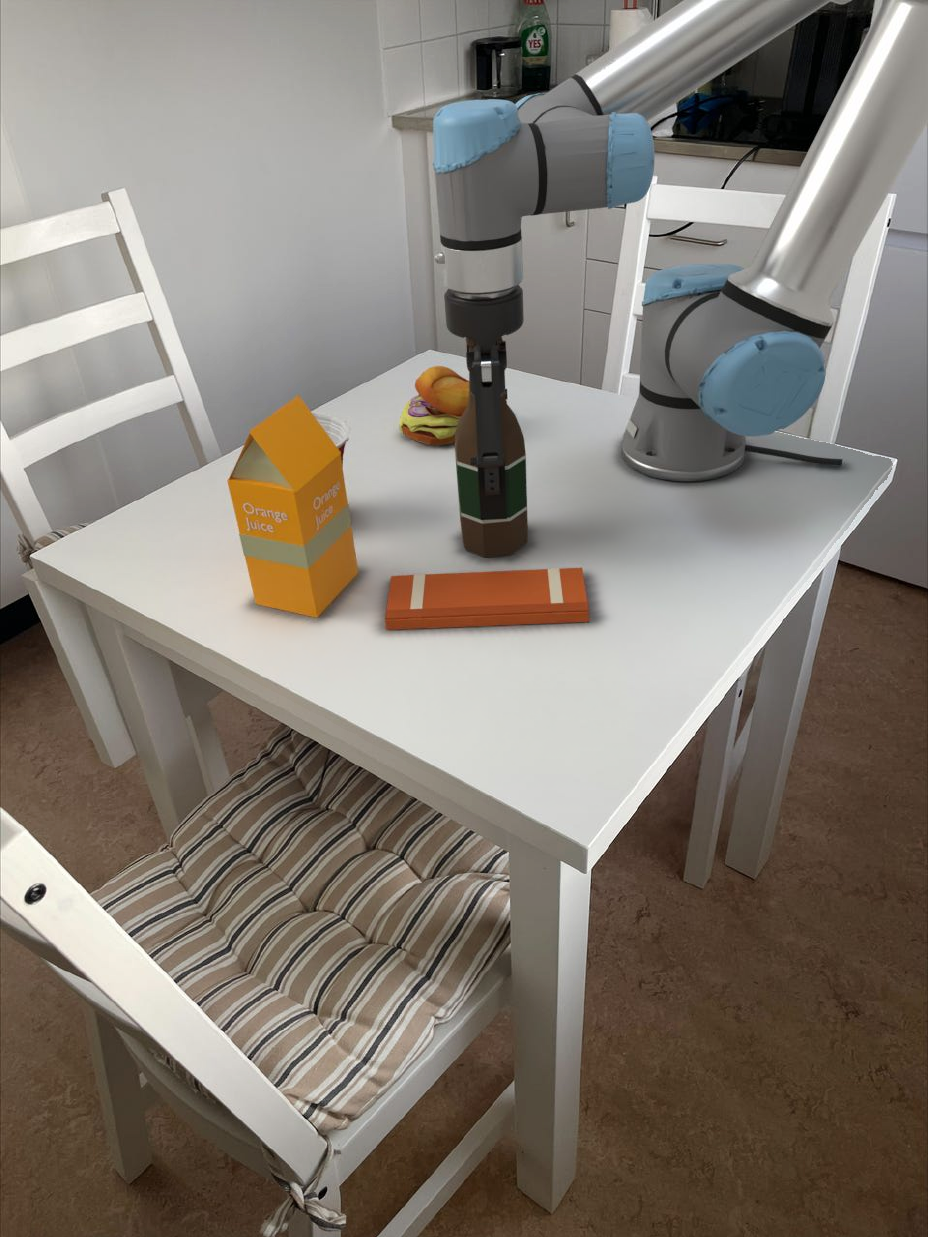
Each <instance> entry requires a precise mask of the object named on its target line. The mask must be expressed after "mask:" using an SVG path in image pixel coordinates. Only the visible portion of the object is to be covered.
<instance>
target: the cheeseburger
mask: <svg viewBox="0 0 928 1237" xmlns="http://www.w3.org/2000/svg"><path fill="white" fill-rule="evenodd" d="M414 388H415V391H416V392H417V395H415V396H413V397H412V398H411V399H410V400H408V401H407V402H406V403H405V405H404V407H403V410H402V412H401V414H400V420H399V422H398V428H399V430H400V432H401V434H402V435H403V436H404V435H405V436H406V437H408V438H409V439H411V440H413V441H417V442H419V443H423V444H426V445H431V446H444V445H448V444H451V443H455V432H456V428H457V425H458V421H459V419H460V417H461V416H462V414H463V413H464V411H465V410H466V408H467V406H468V398H469V379H466V378H464V377H462V376H461V375H460V374H458V373H457V372H456V371H455V370H453V369H451V368H450V367H446V366H443V365H435V366H431V367H428V368H427V369H425V370H424V371H423V372H422V373H421V374H420V375H419V377H418V378H417V379H415V382H414Z"/></svg>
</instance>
